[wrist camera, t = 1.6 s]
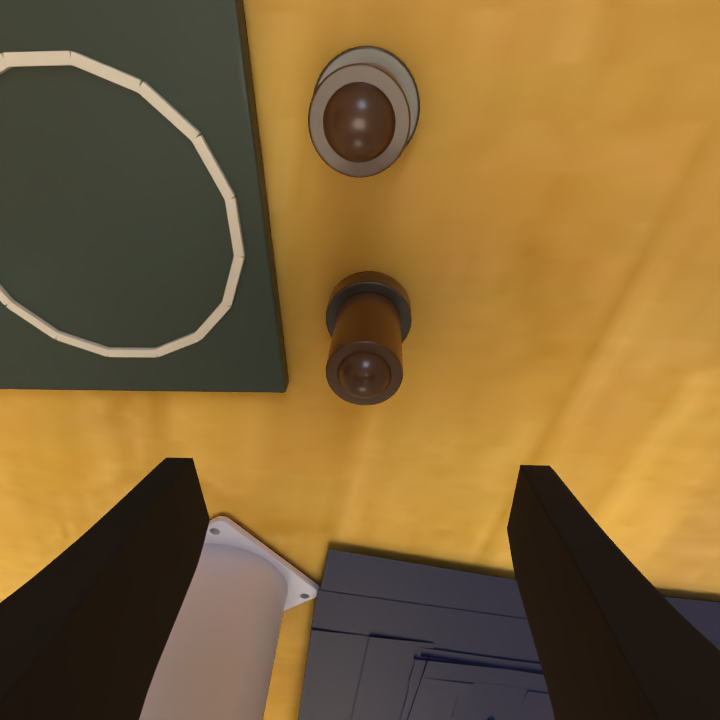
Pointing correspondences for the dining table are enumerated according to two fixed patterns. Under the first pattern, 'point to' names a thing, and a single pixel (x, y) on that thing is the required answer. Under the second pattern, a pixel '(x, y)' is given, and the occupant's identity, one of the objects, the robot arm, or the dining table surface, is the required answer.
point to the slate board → (133, 201)
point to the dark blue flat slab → (430, 644)
